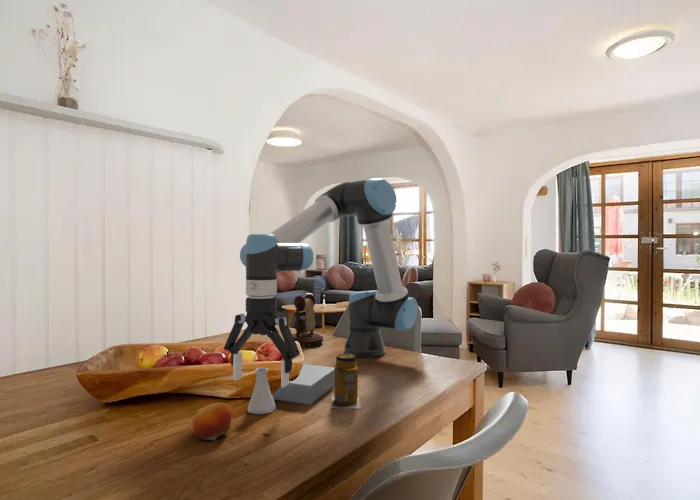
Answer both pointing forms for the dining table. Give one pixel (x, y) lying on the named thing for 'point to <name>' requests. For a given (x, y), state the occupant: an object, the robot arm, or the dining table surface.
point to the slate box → (307, 385)
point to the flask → (261, 394)
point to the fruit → (212, 421)
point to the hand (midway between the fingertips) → (260, 382)
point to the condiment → (346, 383)
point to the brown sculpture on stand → (308, 324)
